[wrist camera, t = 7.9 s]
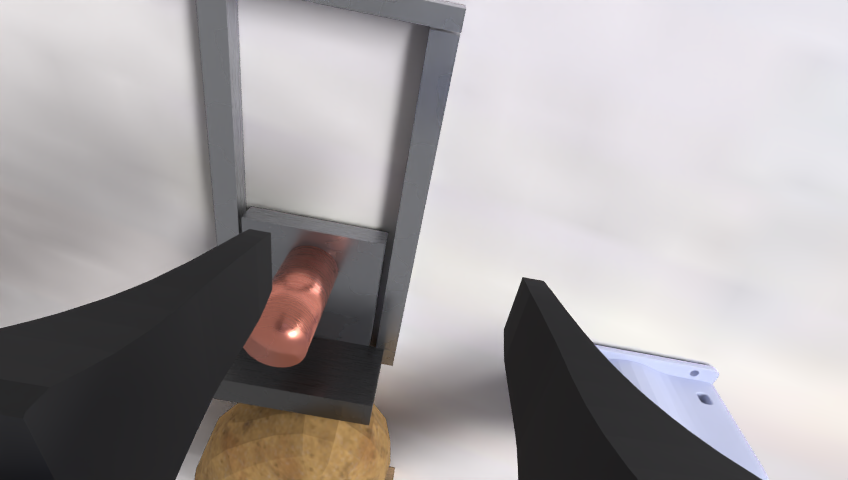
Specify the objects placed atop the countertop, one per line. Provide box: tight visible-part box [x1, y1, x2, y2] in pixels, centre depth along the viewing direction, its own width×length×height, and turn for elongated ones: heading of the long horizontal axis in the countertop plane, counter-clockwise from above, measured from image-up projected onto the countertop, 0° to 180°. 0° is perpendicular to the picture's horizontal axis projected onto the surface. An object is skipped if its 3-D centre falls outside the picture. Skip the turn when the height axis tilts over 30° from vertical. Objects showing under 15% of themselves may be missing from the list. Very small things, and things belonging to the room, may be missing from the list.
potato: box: [195, 403, 390, 480], centre depth 28 cm, size 10×14×8 cm
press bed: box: [196, 0, 466, 480], centre depth 24 cm, size 14×34×6 cm, turn 170°
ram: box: [213, 206, 388, 425], centre depth 22 cm, size 9×9×7 cm
